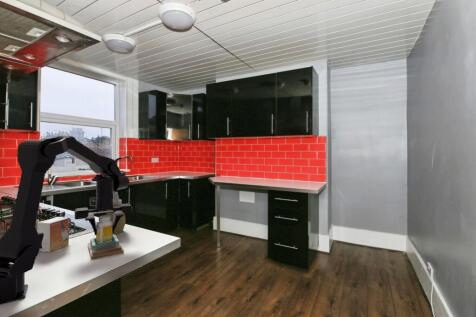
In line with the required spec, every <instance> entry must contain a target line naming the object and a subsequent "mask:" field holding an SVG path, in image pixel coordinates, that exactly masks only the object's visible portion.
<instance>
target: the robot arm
mask: <svg viewBox="0 0 476 317" xmlns="http://www.w3.org/2000/svg"><path fill="white" fill-rule="evenodd" d="M65 152H66V153H68V154H69V155H71V156H73V157H75V158H77V159H78V160H80V161H82V162H83V163H86V164H87V165H88V166H89V169H90V170H91V171H92V172H94V173H95V174H96V175H95V176H94V177H93V178H91V181H92V182H95V184H96V186H95V191H96V192H95V195H96V196H92V197H90V196H89V206H90V207H94V209H89V208H88V207H80V208H79V207H78V208H75V209H74V215H73V216H74V219H75V220H85V221H86V222H87V221H88V222H89V224H90V225H91V228H92V230H93V234H94V236H96V233H97V231H96V224H97V223H96V217H95V215H101V214H102V215H103V214H107V213H112V212H113V227H112V233H113V232H114V230H115V228H116V226H117V223H118V222H119V220H120V218H121V217H122V216H124V214H125V215H126V214H133V212H134V207H133V206H132V205H131V204H130V203H121V204H120V205H119V207H113V197H114V193H115V192H114V191H118V190H123V189H127V188H128V187H129V185H130V179H129V177H128V176H127V175H126V172H122V171H121V169H120V167H119V166H118V163H117V161H116V160H115V159H113V158H111V157H108V156H105V155H100V154H98V153H97V152H95V151H94V150H92V149H90V148H89V147H88V146H86V145H85V144H83V143H82V142H80V141H78V140H77V138H76V137H74V136H72V135H57V136H54V137H49V138H43V139H26V140H24V141H22V142H20V143H19V144H18V146H17V160H16V161H17V162H18V165H19V167H20V171H21V175H20V180H19V185H18V188H17V192H16V193H17V194H16V198H15V203H14V208H13V212H12V213H13V214H12V217H11V218H12V219H11V222H10V227H9V228H8V229H7V231H6V232H4V234H3V235H2V236H1V238H0V305H1V304H5V303H9V302H13V301H17V300H20V299H21V300H22V299H24V298H26V295H27V292H28V287H29V284H27V283H26V282H25V280H26V278H25V274H26V273H27V272H30V271H31V270H33V267H34V266H35V265H34V264H35V262H36V259H37V257H38V255H39V252H40V251H39V250H40V249H42V240H43V237H44V233H39V232H37V224H36V223H37V218H38V213H39V209H40V203H41V199H42V194H43V188H44V184H45V176H46V174H47V172H48V171H49V170H50V168H51V167H53V165H54V164H55V161H56V160H57V156H58V155H61V154H64V153H65ZM107 210H109V211H107ZM123 213H124V214H123ZM25 283H26V284H25Z"/></svg>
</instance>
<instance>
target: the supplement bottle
mask: <svg viewBox="0 0 476 317" xmlns="http://www.w3.org/2000/svg"><path fill="white" fill-rule="evenodd" d="M110 219H111V216H110V215H107V214H104V215H103V214H102V215H100V216H98V222H97V223H96V231H97V233H96V235H95V238H96V243H98V244H101V243H106V242H111V241H112V235H113V234H112V227H113V223H112V221H110Z"/></svg>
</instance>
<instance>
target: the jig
mask: <svg viewBox="0 0 476 317" xmlns="http://www.w3.org/2000/svg"><path fill="white" fill-rule="evenodd" d="M87 247H88V253H89V256H90V260H91V261H92V260H98V259H103V258H107V257H111V256H117V255H121V254H124V253H125V252H124V251H125V250H124V247H122V245H121V243H120V240H119V239H118V237H117V235H116V234H112V241H111V242H106V243H101V244H98V243H96V237H92V238H91V237H90V241H89V243H88V242H87Z"/></svg>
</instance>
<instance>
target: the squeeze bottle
mask: <svg viewBox="0 0 476 317" xmlns="http://www.w3.org/2000/svg"><path fill="white" fill-rule="evenodd" d="M120 204H123V202H122V199H120V197H119V194H118V191H115V192H114V193H113V207H119V205H120ZM107 211H109V210H107ZM123 214H124V213H123ZM106 215H110V216H111V219H110V221H112V223H113V212H112V213H106ZM125 227H126V214H124V216H122V217H121V218H120V220H119V222H118V223H117V226H116V228H115V230H114V232H113V233H112V235H116V234H120V233H122V232H124V229H125Z"/></svg>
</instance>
